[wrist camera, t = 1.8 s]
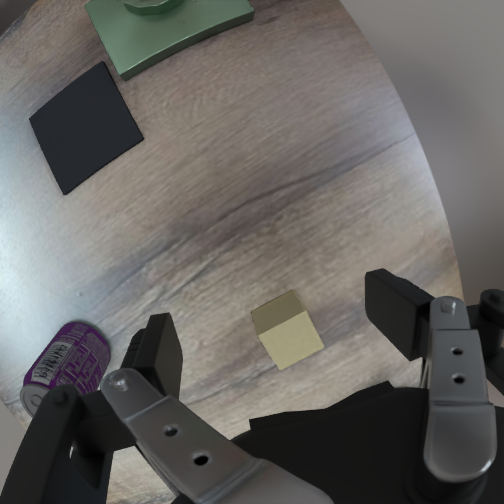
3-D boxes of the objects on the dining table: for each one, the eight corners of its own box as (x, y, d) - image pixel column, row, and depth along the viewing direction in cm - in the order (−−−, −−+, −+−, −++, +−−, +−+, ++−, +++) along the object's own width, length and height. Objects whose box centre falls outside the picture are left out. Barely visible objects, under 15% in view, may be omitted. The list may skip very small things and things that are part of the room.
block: (292, 289, 32) (305, 310, 27) (310, 323, 33) (324, 347, 28) (250, 311, 32) (257, 335, 27) (271, 344, 33) (280, 370, 29)
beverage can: (52, 341, 30) (8, 401, 19) (76, 307, 29) (27, 368, 18) (94, 377, 32) (64, 445, 21) (123, 348, 31) (93, 421, 20)
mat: (104, 62, 23) (102, 60, 22) (144, 139, 26) (143, 138, 25) (31, 119, 23) (28, 118, 23) (66, 194, 26) (63, 195, 25)
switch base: (206, -42, 20) (206, -62, 16) (252, 20, 23) (258, 1, 20) (90, 13, 21) (77, -3, 17) (125, 81, 24) (113, 70, 20)
